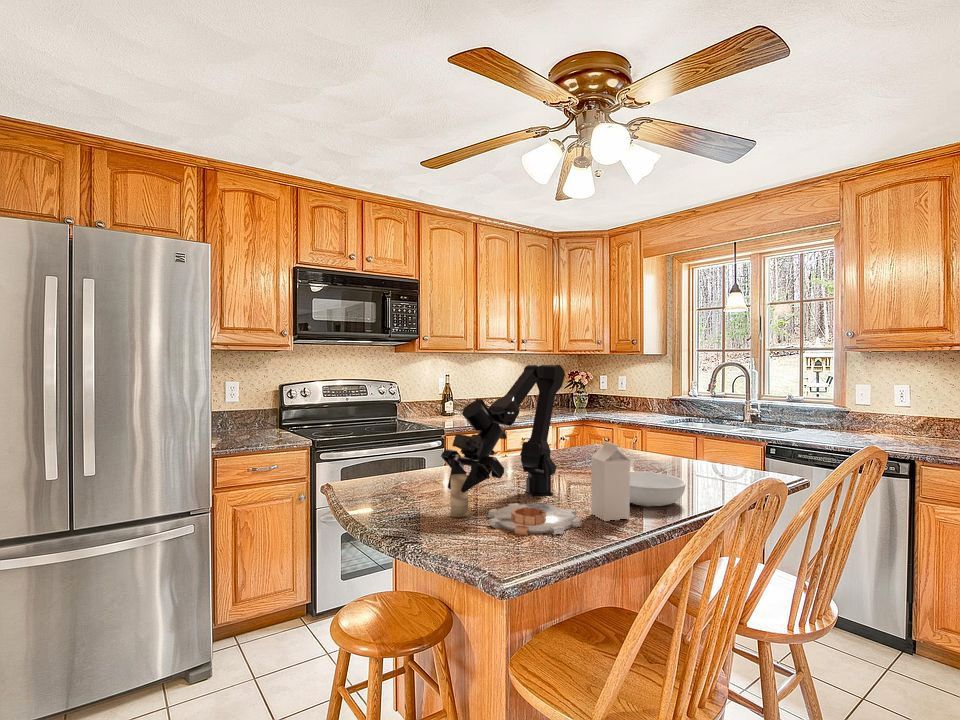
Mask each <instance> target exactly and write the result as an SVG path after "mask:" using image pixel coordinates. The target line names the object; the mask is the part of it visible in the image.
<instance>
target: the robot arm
mask: <svg viewBox="0 0 960 720" xmlns="http://www.w3.org/2000/svg"><path fill="white" fill-rule="evenodd" d="M565 378H566V371H565V369H564V368H563V366H562V365H560V364H542V365H540V364H528V365H525V366H524V368H523V371H522V372H521V374H520V375H519V376H518V378H517V379H516V381H515V382H514V383H513V385H512V386H511V387H510V388H509V390H508V391H507V392H506V394H505V395H504V396H501V397H500V398H498V399H496V400H495V401H494V402H493V403H492V404H491V405H489V407H488V406H487V404H486V403H485V401H484V400H483V399H482V398H476V399H475V401H472V402H469V404H468V405H466V406H465V407H463V409H462V412H461V413H462V416H463V418H464V419H465V420H466V421H467V423H468V424H469V426H471V428H472V430H474V431H476V432H477V434H475V433H474V434H473V433H472V435H471V436H470V435H465V434H458V433H456V434H454V435H455V436H454V437H453V438H454V439H453V442H452V447H454V448H458V449H460V453H461V454H462V455H463V456H462V455H461V454H460V453H459V452H458V450H454V449H448V448H447V449H444V450H443V452H442V453H441V455H440V457H441V458H442V460H443V461H444V462H445V463H446V464H447V465H448V466H449V468H451V469H450V474H449V478H448V479H449V480H448V483H447V488H448V489H449V490H451V475H454V474H466V475H468V477H467V479H466V481H465V482H464V484H463V486H462V489H461V491H462V492H463V493H464V492H466V491H467V490H468V491H469V490H471V489H472V488H474V487H475V486H477V485H479V484H480V483H482V482H484V481H486V480H490V479H491V476H492V478H495V479H502V477H503V475H504V473H505V467H504V466H503V464H502V463H501V462H500V460H499V459H498V458H497V457H496V456H494V455H495V451H494V449H495V447H496V445H497V443H498V442H499V440H507V439H508V438H507V434H506V429H504V428H503V427H501V426H512V425H514V423H515V422H516V421H517V420H516V419H517V418H518V416H519V414H520V406H521V404H522V402H524V400H525V398H526V397H527V396H528V394H530V392H531V390H532V389H533V388H534V387H535V385H536V386H537V388H538V396H537V402H536V406H535V407H536V408H535V413H534V417H533V422H532V423H533V424H532V428H531V435H530V438H529V439H528V440H527V441H523V442H522V445H521V451H520V453H519V455H520V462H521V465H522V470H523V472H524V473H527V477H526V478H525V480H526V481H525V482H526V483H525V484H526V486H525V488H526V489H525V492H527V493H528V494H530V495H531V496H533V497H537V496H548V495H549V496H551V495H554V492H553V491H552V476H553V475H554V474H556V472H557V471H556V470H557V465H556V464H555V462H554V461H553V459H552V458H551V448H550V446H549V442H548V437H549V433H550V426H551V421H552V420H551V419H552V415H553V410H554V404H555V399H556V394H557V393H558V392H559V391H560V389H561V388H562V386H563V383H564V381H565ZM465 466H467V467H468V466H469V467H470V472H469V474H467V471H466V470H465V469H464V468H465ZM490 475H491V476H490Z"/></svg>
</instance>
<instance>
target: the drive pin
mask: <svg viewBox="0 0 960 720" xmlns="http://www.w3.org/2000/svg"><path fill="white" fill-rule="evenodd" d="M468 475H469V474H467V473H466V474H454V475H451V489H450V516H451V517H454V518H465V517H468V516H469V490H467V491H466V492H464V493H463V492H462V491H461V489H462V486H463V484H464V482H465V481H466V479H467V477H468Z"/></svg>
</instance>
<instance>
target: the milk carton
mask: <svg viewBox="0 0 960 720" xmlns="http://www.w3.org/2000/svg"><path fill="white" fill-rule="evenodd" d="M602 443H603V444H602V445H601V447H599V449H598V450H597V451H595V452H594V453H593V455H592V456H591V457H590V458H591V468H590V469H591V470H590V471H591V474H590V475H591V476H590V477H591V478H590V479H591V482H590V483H591V484H590V485H591V486H590V489H591V492H590V493H591V495H590V503H591V505H590V514H591V515H592V514H593V516H594V515H595V516H594V517H596V518H597V517H598V518H597V519H599V518H600V520H601V519H602V520H601V521H603V520H604V521H603V522H611V521H610V520H615V521H621V520H620V519H627V518H629V519H630V504H631V503H630V472H631V471H630V469H631V467H630V459H629V458H627V456H626V455H625V454H623V450H622V449H621V448H619V447H618V444H616V443H613V442H608V441H606V440H603V441H602ZM627 520H628V519H627Z"/></svg>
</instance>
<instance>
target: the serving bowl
mask: <svg viewBox="0 0 960 720" xmlns="http://www.w3.org/2000/svg"><path fill="white" fill-rule="evenodd" d="M686 486H687V485H686V482H685V479H684V480H683V479H682V478H679V477H678V476H673V475H669V474H664V473H660V472H659V473H658V472H650V471H630V504H631V503H633V504H632V505H634V504H637V505H643V506H658V507H662V506H663V507H664V506H668V505H672V504H674V503H676V502H678V501H679V500H680V499H681V498H682V497H683V495H684V492H685V490H686ZM637 505H636V506H637ZM643 506H642V507H643Z"/></svg>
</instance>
